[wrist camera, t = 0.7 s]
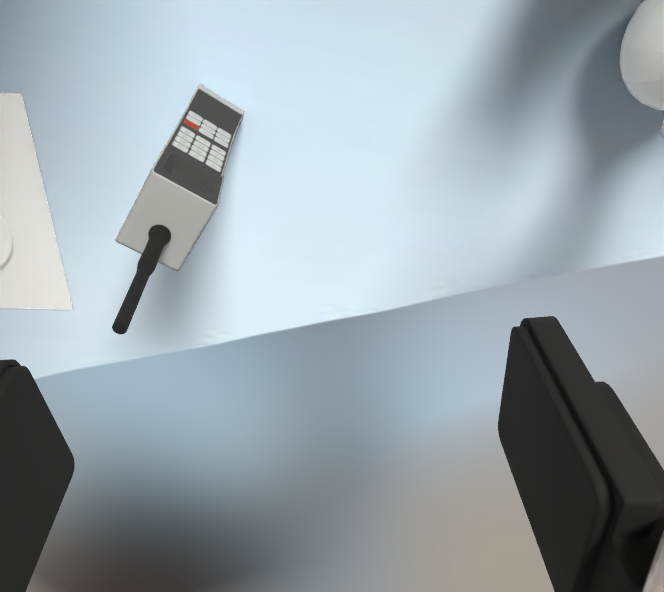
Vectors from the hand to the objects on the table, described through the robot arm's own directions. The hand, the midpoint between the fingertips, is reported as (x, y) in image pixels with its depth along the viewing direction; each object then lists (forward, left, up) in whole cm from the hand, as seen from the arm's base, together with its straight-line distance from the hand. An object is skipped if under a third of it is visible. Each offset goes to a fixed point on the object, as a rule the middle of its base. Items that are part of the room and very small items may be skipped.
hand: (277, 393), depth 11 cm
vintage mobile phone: (-1, -9, -36) cm, 37 cm away
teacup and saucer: (-13, -31, -36) cm, 49 cm away
